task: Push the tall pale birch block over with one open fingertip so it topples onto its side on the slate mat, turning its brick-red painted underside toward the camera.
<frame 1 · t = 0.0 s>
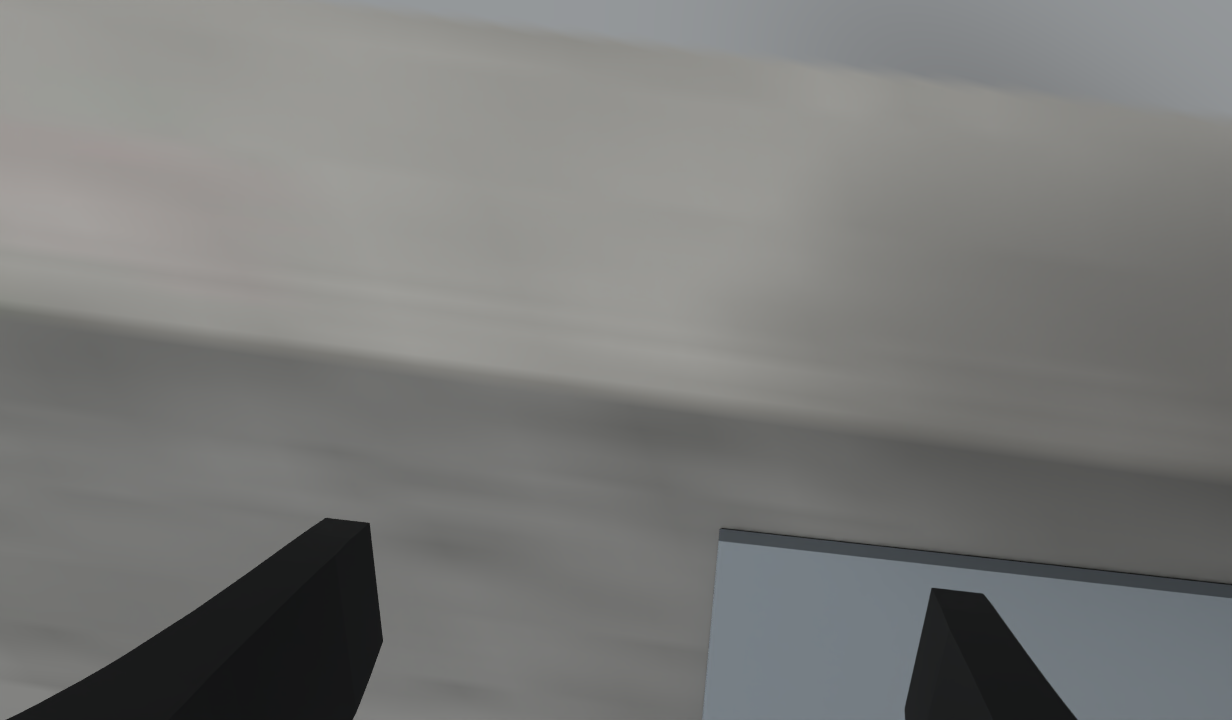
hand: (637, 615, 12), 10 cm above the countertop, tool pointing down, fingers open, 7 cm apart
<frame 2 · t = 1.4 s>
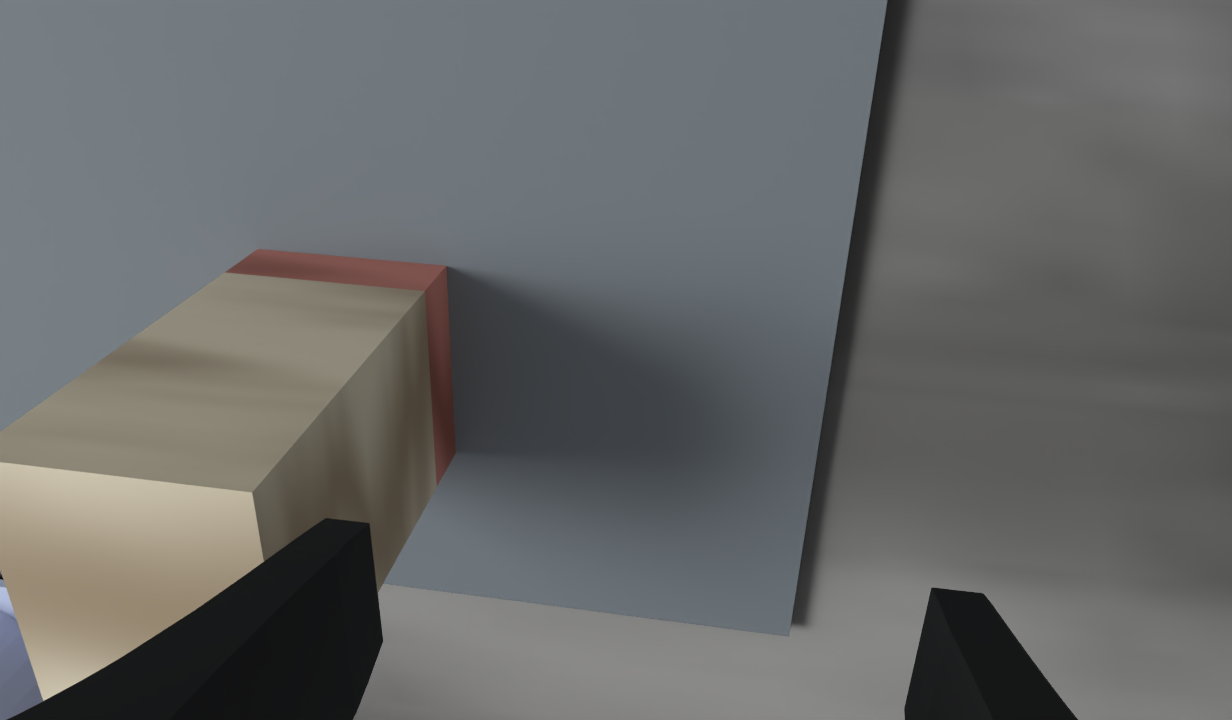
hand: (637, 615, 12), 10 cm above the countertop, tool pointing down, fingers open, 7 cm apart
slate mat: (325, 304, 23), on the countertop
birch block: (360, 355, 23), resting on slate mat
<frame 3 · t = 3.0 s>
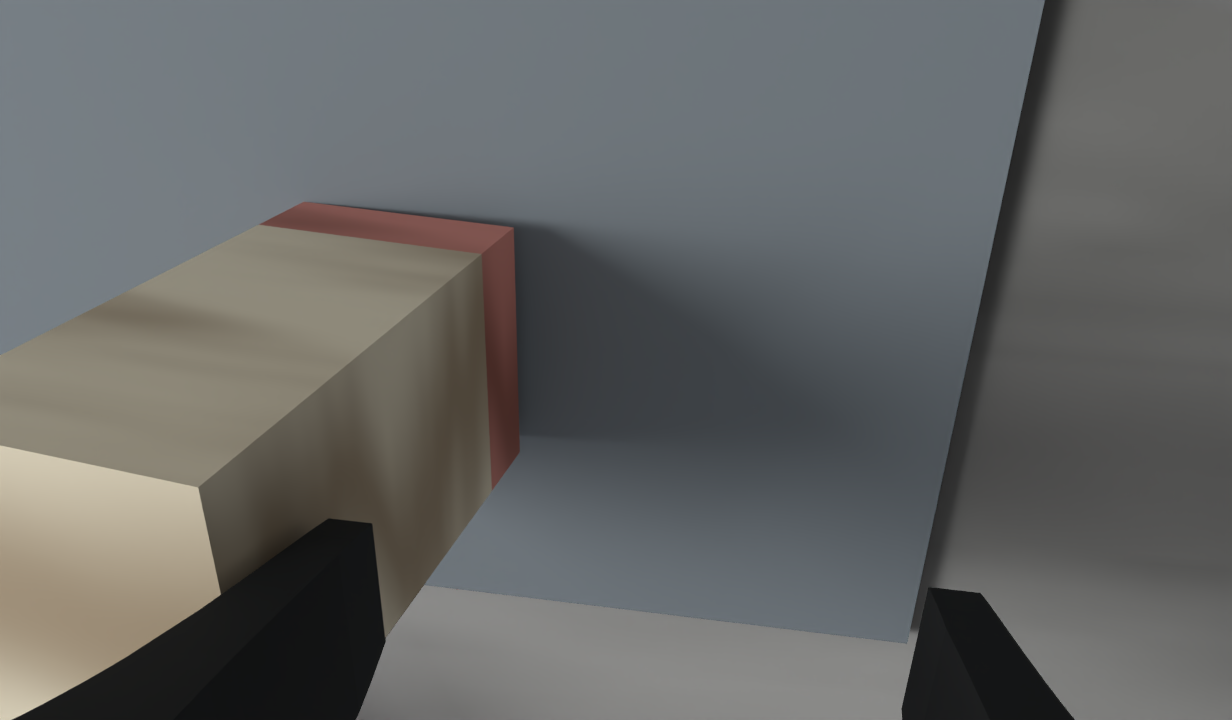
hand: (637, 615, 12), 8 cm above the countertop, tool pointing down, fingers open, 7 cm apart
slate mat: (379, 267, 20), on the countertop
birch block: (415, 330, 20), point 1 cm above the countertop, tilted 8°, touching gripper, slate mat
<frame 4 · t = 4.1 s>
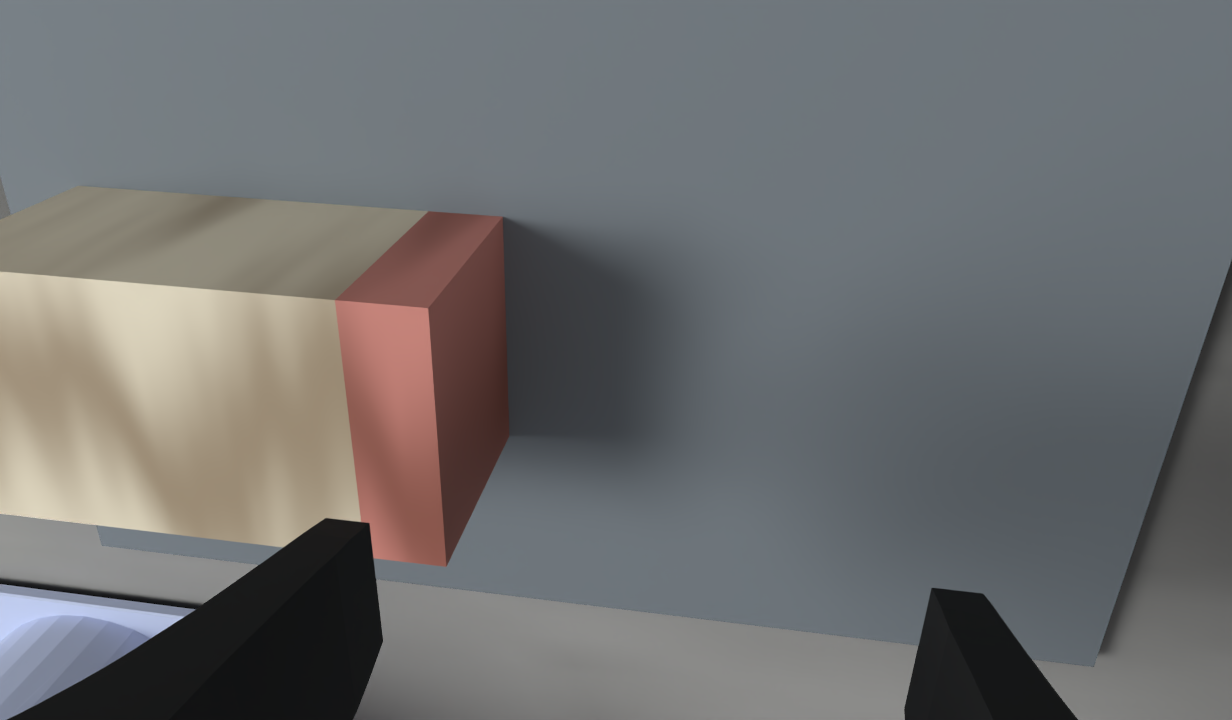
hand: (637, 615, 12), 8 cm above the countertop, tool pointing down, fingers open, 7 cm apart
slate mat: (571, 283, 19), on the countertop
birch block: (475, 383, 18), point 3 cm above the countertop, tilted 90°, touching slate mat
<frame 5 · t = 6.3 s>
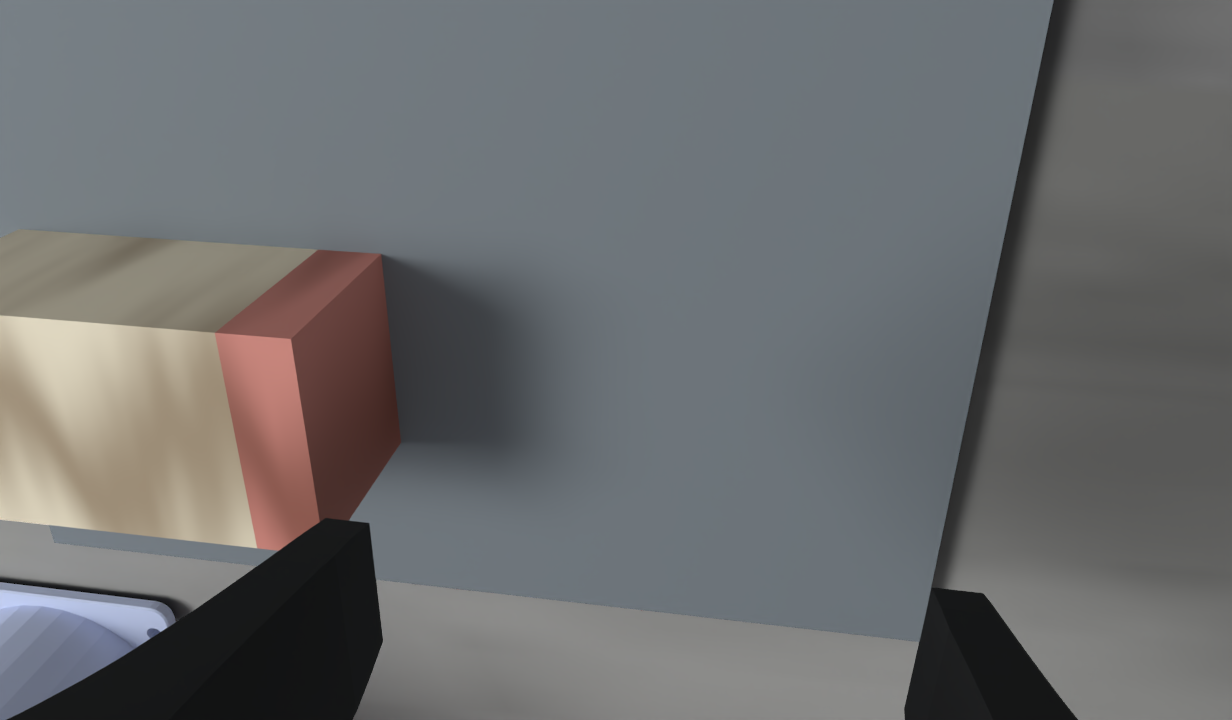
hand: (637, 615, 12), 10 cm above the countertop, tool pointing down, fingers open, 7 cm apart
slate mat: (446, 309, 22), on the countertop
birch block: (354, 398, 21), point 3 cm above the countertop, tilted 90°, touching slate mat
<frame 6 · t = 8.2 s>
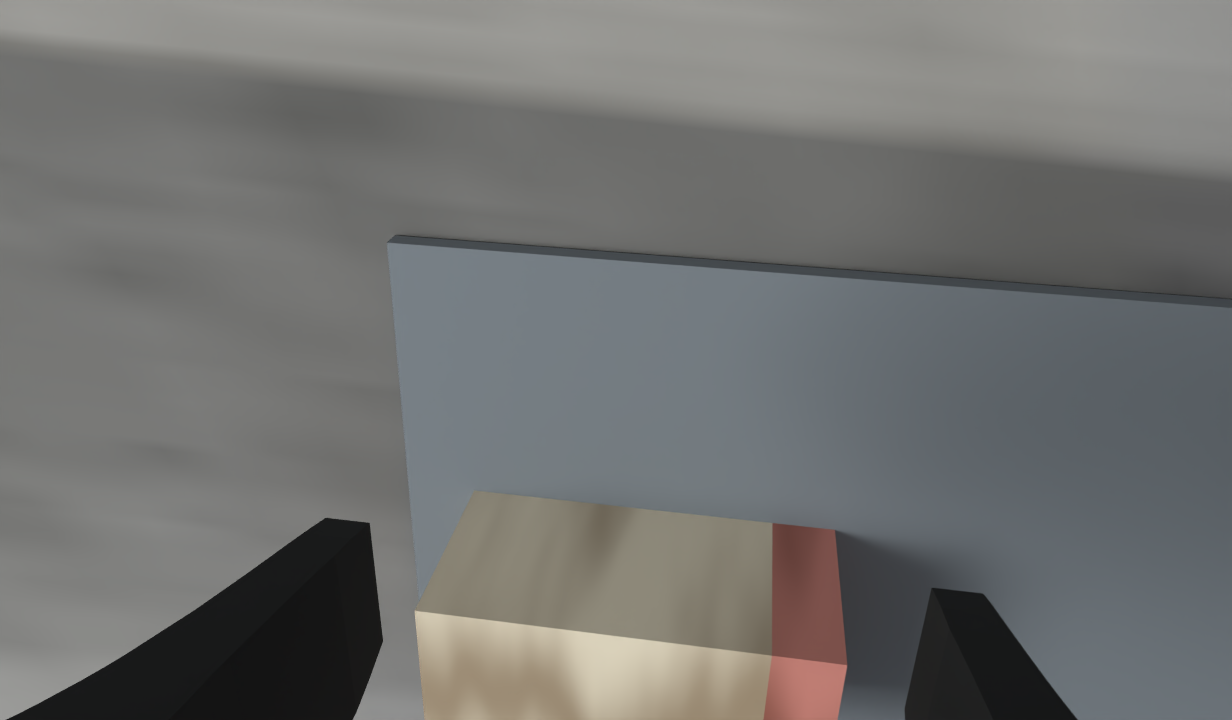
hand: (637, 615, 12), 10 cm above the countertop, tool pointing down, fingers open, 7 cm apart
slate mat: (877, 571, 24), on the countertop
birch block: (826, 674, 22), point 3 cm above the countertop, tilted 90°, touching slate mat
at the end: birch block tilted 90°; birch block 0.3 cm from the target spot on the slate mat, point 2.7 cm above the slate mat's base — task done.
